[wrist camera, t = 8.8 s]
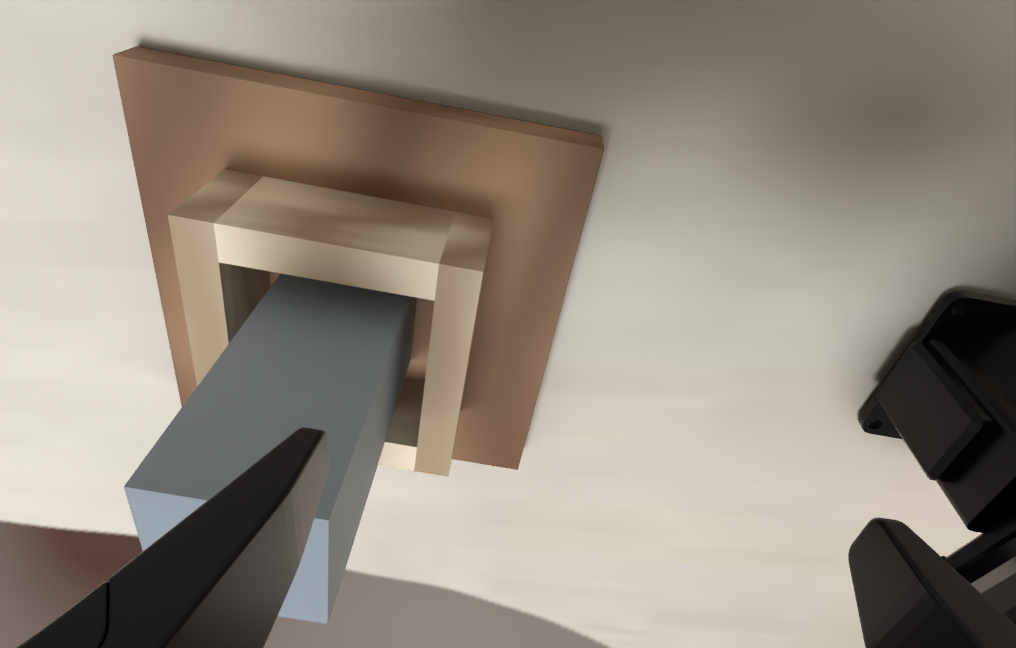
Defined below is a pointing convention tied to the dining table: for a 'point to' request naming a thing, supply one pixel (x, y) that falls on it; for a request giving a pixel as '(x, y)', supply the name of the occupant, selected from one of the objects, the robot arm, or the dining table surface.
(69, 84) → the dining table surface
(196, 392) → the peg
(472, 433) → the socket block
